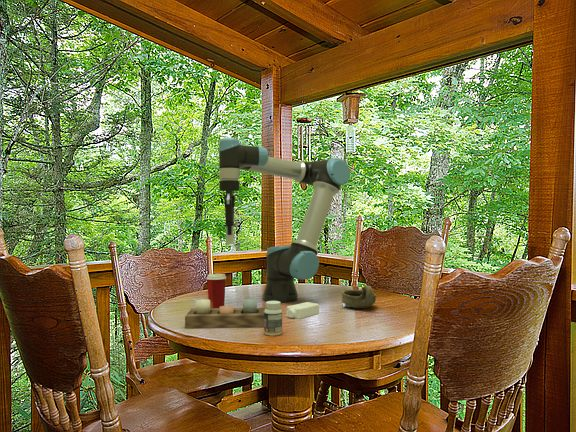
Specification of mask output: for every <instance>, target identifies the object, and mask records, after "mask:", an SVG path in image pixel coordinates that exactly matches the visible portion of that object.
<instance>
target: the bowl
mask: <svg viewBox="0 0 576 432" xmlns="http://www.w3.org/2000/svg"><path fill="white" fill-rule="evenodd" d="M341 295H342V297H341V303H343V304H345V305H346V306H347V307H350V308H354V309H366V308H368V307H371V306H372V305H374V304H375V303H376V300H377V299H376V297H377V294H376V293H375V292H374V291H373V288H372V286H370V285H364V286H363V288H362V289H345V290H343V291H341Z"/></svg>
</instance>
